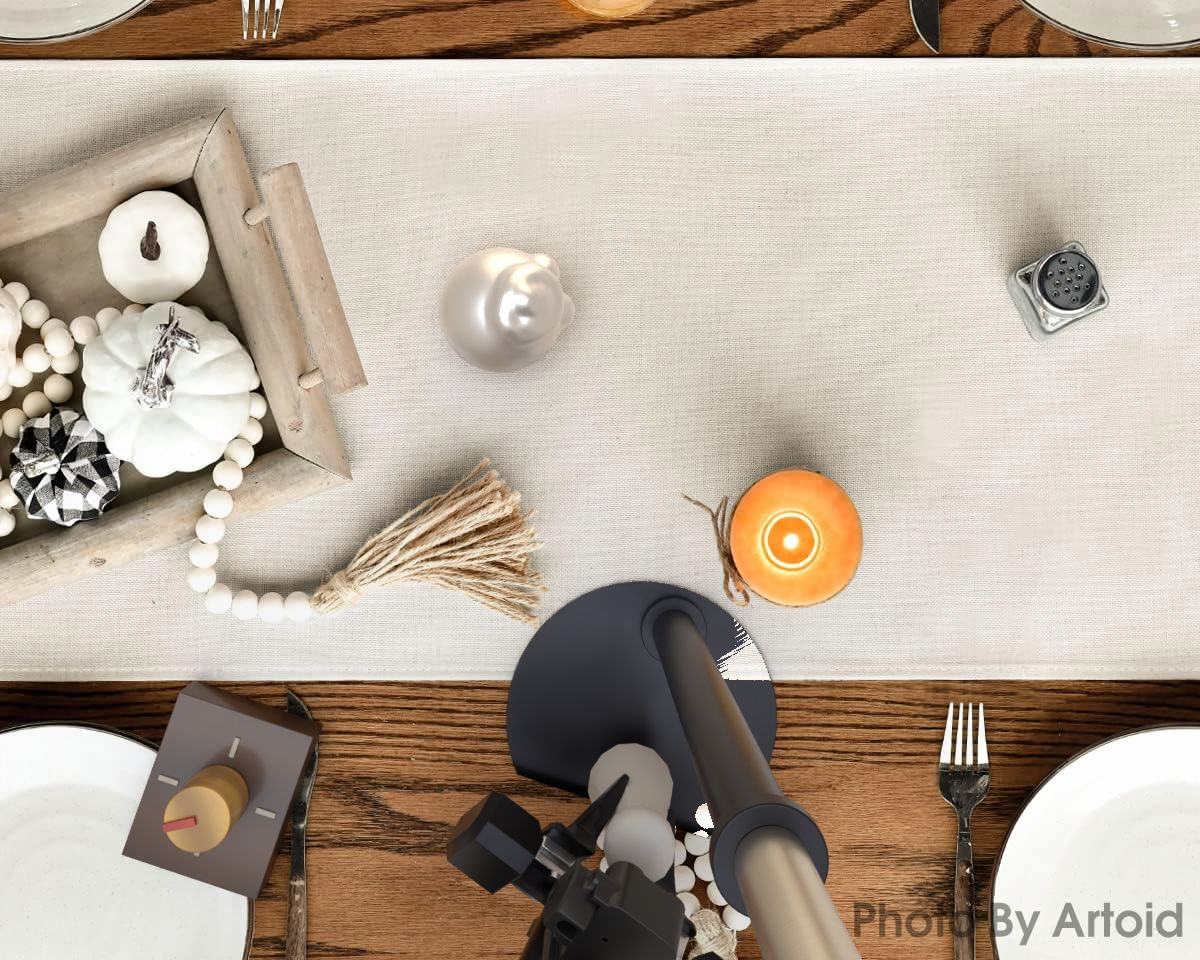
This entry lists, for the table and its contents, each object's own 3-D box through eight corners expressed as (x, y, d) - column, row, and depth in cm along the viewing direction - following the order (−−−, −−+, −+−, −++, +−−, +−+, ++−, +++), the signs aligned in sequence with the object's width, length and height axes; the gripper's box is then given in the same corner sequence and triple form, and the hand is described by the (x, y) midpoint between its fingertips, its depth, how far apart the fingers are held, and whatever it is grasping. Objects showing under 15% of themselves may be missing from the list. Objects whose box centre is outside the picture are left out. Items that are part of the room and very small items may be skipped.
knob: (242, 758, 74) (221, 781, 69) (254, 820, 73) (234, 847, 69) (180, 772, 73) (155, 796, 69) (192, 834, 73) (168, 861, 69)
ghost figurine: (554, 389, 78) (552, 389, 68) (432, 355, 78) (411, 350, 68) (587, 273, 78) (589, 256, 68) (465, 238, 78) (450, 217, 68)
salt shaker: (594, 727, 74) (600, 796, 61) (674, 738, 74) (696, 810, 61) (582, 810, 74) (584, 897, 61) (662, 821, 74) (682, 911, 61)
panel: (268, 880, 76) (255, 901, 73) (138, 836, 76) (119, 856, 73) (323, 723, 77) (313, 738, 74) (194, 679, 77) (178, 692, 73)
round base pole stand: (725, 888, 77) (1001, 1797, 27) (469, 802, 77) (278, 1561, 27) (811, 631, 78) (1233, 1060, 28) (558, 544, 78) (531, 822, 28)
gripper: (762, 1131, 50) (837, 845, 62) (453, 899, 50) (586, 657, 62) (651, 1150, 58) (737, 892, 69) (382, 948, 58) (513, 723, 69)
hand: (647, 793), depth 67 cm, fingers closed on salt shaker, 3 cm apart
